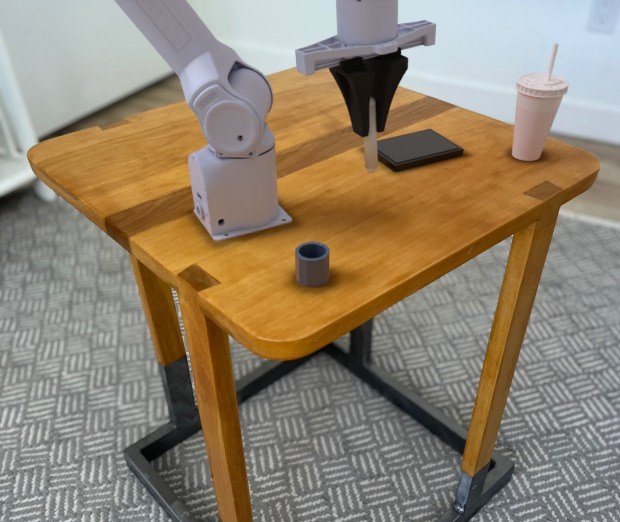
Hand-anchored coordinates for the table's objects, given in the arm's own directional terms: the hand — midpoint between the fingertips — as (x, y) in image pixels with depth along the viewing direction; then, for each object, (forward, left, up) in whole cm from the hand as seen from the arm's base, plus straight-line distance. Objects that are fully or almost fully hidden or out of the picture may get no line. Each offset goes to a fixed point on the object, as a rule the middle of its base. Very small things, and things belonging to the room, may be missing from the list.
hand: (368, 131), depth 65 cm
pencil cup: (-11, -8, -10) cm, 17 cm away
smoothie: (+28, +5, -11) cm, 31 cm away
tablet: (+15, +13, -10) cm, 23 cm away
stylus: (0, -1, -4) cm, 4 cm away
